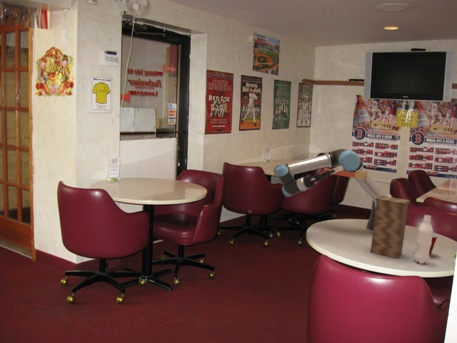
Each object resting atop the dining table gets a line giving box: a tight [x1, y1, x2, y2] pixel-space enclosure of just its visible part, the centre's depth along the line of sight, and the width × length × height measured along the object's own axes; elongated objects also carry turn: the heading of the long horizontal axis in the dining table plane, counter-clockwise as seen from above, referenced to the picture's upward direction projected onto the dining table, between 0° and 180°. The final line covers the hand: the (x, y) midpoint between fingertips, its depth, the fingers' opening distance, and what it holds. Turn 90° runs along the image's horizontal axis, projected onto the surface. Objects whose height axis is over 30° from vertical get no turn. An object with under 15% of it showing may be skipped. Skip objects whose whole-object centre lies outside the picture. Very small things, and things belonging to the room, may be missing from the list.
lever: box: [322, 167, 369, 179], centre depth 258 cm, size 24×5×4 cm, turn 56°
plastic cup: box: [416, 231, 439, 257], centre depth 250 cm, size 11×11×12 cm
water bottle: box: [414, 214, 434, 265], centre depth 235 cm, size 7×7×25 cm
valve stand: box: [370, 196, 411, 259], centre depth 246 cm, size 15×11×30 cm
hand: (341, 168), depth 259 cm, fingers closed on lever, 3 cm apart
